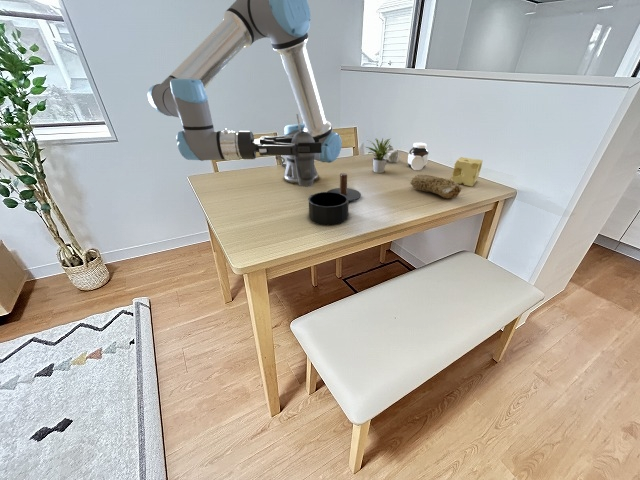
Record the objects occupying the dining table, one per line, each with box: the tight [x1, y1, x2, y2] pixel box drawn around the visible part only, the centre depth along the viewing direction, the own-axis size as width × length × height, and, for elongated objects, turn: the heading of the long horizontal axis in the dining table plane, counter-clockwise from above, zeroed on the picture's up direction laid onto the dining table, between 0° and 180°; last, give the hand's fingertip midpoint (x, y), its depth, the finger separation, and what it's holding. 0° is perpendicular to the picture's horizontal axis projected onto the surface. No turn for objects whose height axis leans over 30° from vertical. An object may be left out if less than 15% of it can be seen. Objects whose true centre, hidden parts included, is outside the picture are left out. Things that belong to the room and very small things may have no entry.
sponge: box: [410, 174, 462, 199], centre depth 117 cm, size 13×8×20 cm
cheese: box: [450, 156, 484, 187], centre depth 129 cm, size 10×11×10 cm
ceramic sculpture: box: [373, 145, 400, 164], centre depth 156 cm, size 11×9×15 cm
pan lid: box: [326, 172, 362, 203], centre depth 110 cm, size 14×14×9 cm
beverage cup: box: [292, 113, 315, 188], centre depth 83 cm, size 7×7×20 cm
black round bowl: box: [307, 191, 350, 226], centre depth 95 cm, size 13×13×6 cm
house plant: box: [365, 137, 392, 174], centre depth 138 cm, size 14×14×16 cm
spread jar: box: [407, 142, 429, 171], centre depth 145 cm, size 12×11×12 cm
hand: (320, 144), depth 82 cm, fingers closed on beverage cup, 7 cm apart
